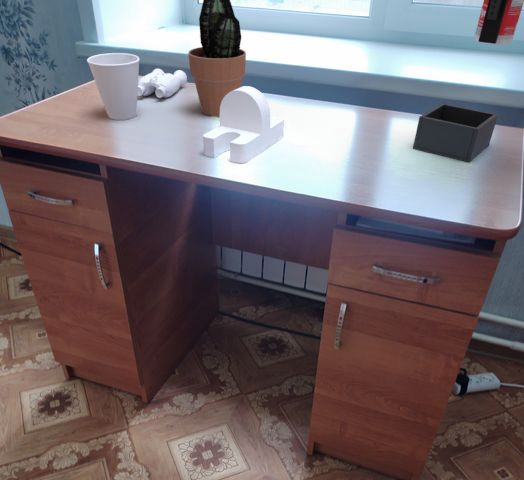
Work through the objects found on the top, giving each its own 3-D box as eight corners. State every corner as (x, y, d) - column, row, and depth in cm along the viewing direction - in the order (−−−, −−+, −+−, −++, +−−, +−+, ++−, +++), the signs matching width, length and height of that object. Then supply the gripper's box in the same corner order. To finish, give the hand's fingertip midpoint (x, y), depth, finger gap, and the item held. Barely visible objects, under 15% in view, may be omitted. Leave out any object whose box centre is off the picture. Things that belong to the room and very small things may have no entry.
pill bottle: (465, 39, 87) (485, -42, 80) (492, 37, 89) (514, -42, 82) (491, 46, 83) (515, -38, 76) (519, 44, 85) (545, -39, 78)
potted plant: (182, 114, 125) (172, -8, 108) (207, 100, 135) (201, -15, 118) (232, 122, 121) (229, -4, 105) (254, 107, 131) (255, -11, 114)
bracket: (243, 164, 102) (243, 104, 94) (201, 154, 105) (198, 95, 98) (285, 136, 115) (287, 81, 107) (246, 128, 118) (245, 74, 110)
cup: (105, 107, 129) (95, 52, 120) (151, 108, 128) (144, 53, 120) (91, 122, 120) (79, 63, 111) (141, 124, 119) (132, 65, 111)
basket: (488, 145, 112) (498, 114, 108) (469, 162, 105) (478, 129, 100) (435, 133, 118) (442, 103, 113) (412, 148, 110) (419, 116, 106)
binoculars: (188, 86, 144) (186, 68, 141) (168, 102, 133) (166, 83, 129) (153, 84, 146) (151, 66, 143) (131, 99, 134) (128, 80, 131)
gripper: (535, -147, 78) (488, 28, 93) (498, -157, 66) (452, 45, 81) (587, -148, 75) (530, 33, 90) (559, -160, 63) (499, 51, 78)
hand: (493, 39), depth 86 cm, fingers closed on pill bottle, 6 cm apart
